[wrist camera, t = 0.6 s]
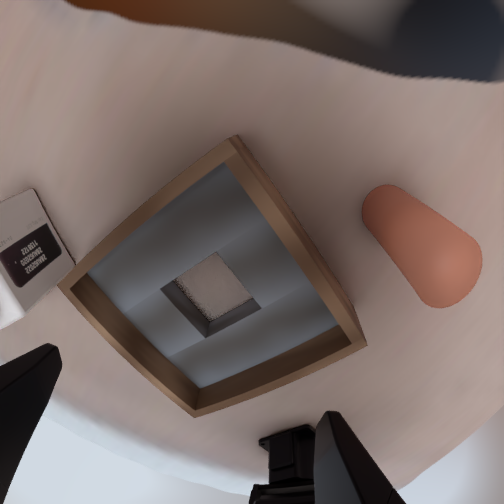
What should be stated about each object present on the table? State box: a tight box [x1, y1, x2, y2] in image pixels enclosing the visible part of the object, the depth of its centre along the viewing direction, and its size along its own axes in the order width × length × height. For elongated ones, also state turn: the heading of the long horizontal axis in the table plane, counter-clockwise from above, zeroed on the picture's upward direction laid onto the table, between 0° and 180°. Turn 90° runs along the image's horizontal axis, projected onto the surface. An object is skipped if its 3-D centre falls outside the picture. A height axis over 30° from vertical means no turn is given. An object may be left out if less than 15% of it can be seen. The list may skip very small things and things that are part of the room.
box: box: [57, 135, 368, 418], centre depth 20 cm, size 15×15×4 cm
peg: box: [362, 185, 482, 308], centre depth 15 cm, size 4×4×9 cm
